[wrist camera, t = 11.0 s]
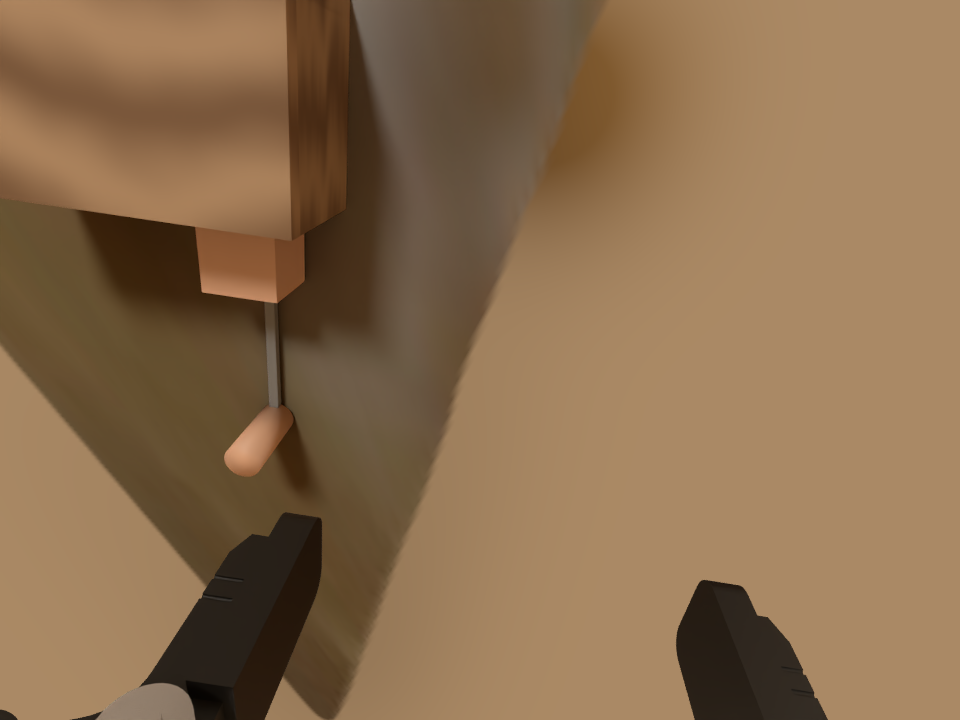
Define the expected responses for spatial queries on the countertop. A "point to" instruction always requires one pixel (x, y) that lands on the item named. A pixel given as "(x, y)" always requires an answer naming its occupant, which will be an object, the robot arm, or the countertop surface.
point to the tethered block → (265, 277)
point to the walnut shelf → (178, 110)
